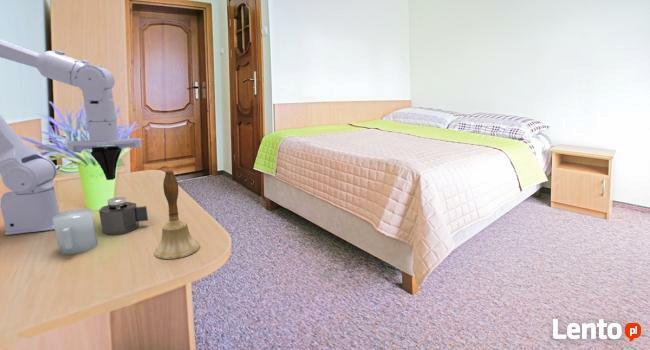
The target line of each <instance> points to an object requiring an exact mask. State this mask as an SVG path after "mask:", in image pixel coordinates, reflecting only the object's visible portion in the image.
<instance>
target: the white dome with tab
mask: <svg viewBox="0 0 650 350" xmlns="http://www.w3.org/2000/svg"><path fill="white" fill-rule="evenodd" d="M53 223H54V228H55V229H54V232H55V237H56V240H57V246H58V251H59V253H60V254H61V255H67V256H68V255H77V254H80V253H85V252H88V251H90V250H93V249H94V248H96V247H97V246H98V245H99V242H98V237H97V230H96V223H95V219H94V214H93V210H92V209H87V208H80V209H73V210H67V211H63V212H60V214H57V215H55V216H54V217H53Z"/></svg>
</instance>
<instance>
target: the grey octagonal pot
mask: <svg viewBox="0 0 650 350" xmlns="http://www.w3.org/2000/svg"><path fill="white" fill-rule="evenodd" d="M98 213H99V214H98V215H99V218H100V226H101V230H102V231H101V232H102V234H105V235H108V236H109V235H110V236H115V235H122V234H123V235H124V234H128V233H130V232H133V231H135V230H137V229H138V228H139V226H140V222H144V221H145V222H147V221H148V220H149V216H148V209H147V205H144V206H137V203H136V202H131V201H127V204H126V205H123V206H120V209H116V207H109V206H108V204H107V205H103V206H101V208H100V209H99V210H98Z"/></svg>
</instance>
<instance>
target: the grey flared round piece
mask: <svg viewBox="0 0 650 350" xmlns="http://www.w3.org/2000/svg"><path fill="white" fill-rule="evenodd" d="M127 202H128V201H127V197H124V196H118V197H116V196H115V197H112V198H109V199H107V205H108V206H109V207H116V209H120V206H123V205H126V204H127Z"/></svg>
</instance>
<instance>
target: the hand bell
mask: <svg viewBox="0 0 650 350" xmlns="http://www.w3.org/2000/svg"><path fill="white" fill-rule="evenodd" d="M164 174H165V175H164V178H163V187H162V188H163V193H164V196H165V198H166V202H167V204H168V206H167V207H168V221H167V222H165V223H164V224H163V225H162V227H161V239H160V243H158V245H157V247H156V248H155V250H154V256H155V257H156V258H157V259H161V260H162V259H163V260H177V259H181V258H185V257H188V256H191V255H192V254H194V253H196V252H198V251H199V249H200V247H201V245H200V242H198V241H197V240H196V239H194V237H192V235H191V233H190V231H189V228H188V227H189V226H188V223H187V222H186V221H184V220H181V219H179V210H178V209H179V208H178V197H179V183H178V180H177V178H176V175H175V173H174V170H170V169H169V170H165V173H164Z"/></svg>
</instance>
